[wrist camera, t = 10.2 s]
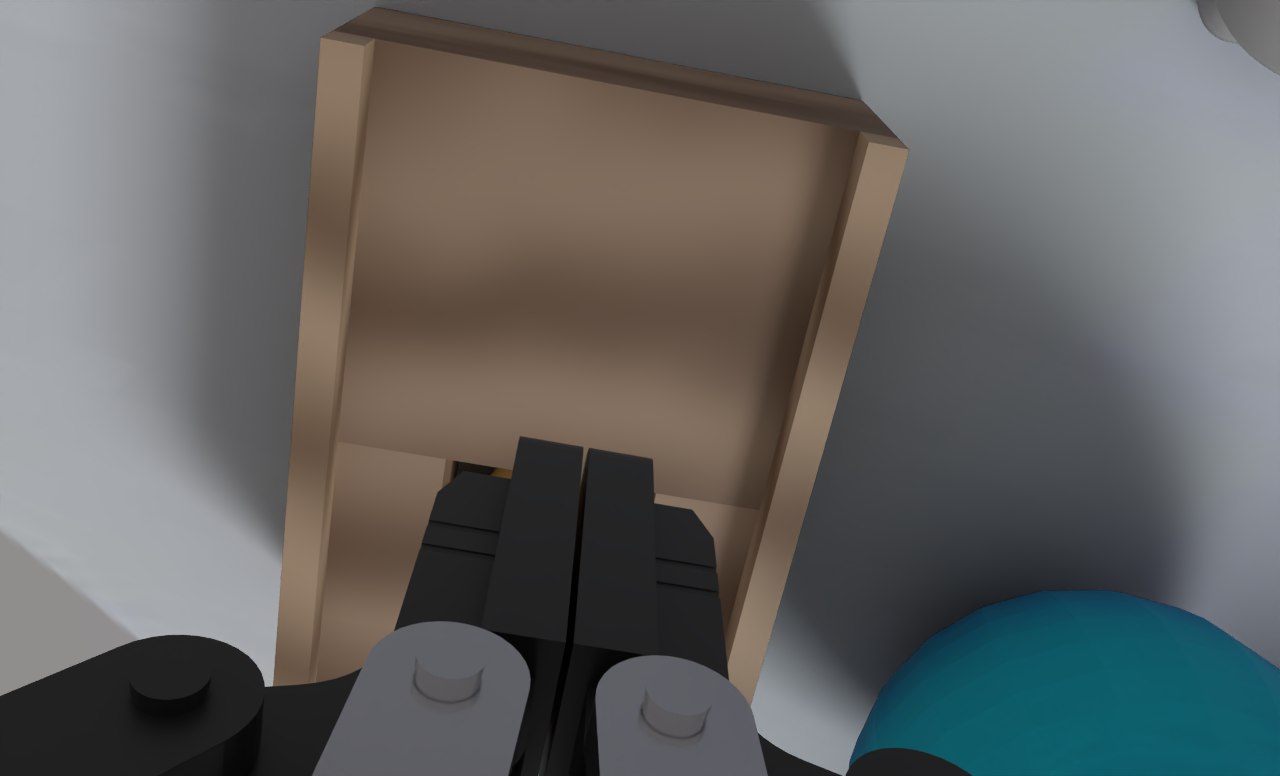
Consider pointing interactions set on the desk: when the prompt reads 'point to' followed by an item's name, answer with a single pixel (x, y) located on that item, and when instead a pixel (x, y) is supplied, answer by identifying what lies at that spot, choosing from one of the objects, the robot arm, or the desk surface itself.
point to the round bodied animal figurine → (1246, 26)
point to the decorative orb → (1083, 693)
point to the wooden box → (564, 303)
